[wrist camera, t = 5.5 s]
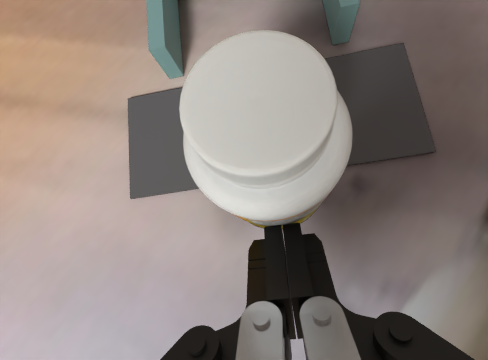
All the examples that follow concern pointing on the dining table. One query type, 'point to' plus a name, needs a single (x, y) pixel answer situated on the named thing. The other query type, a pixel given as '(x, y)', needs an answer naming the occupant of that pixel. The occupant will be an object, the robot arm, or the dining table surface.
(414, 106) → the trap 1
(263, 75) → the supplement bottle
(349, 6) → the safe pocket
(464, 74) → the dining table surface
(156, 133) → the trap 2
